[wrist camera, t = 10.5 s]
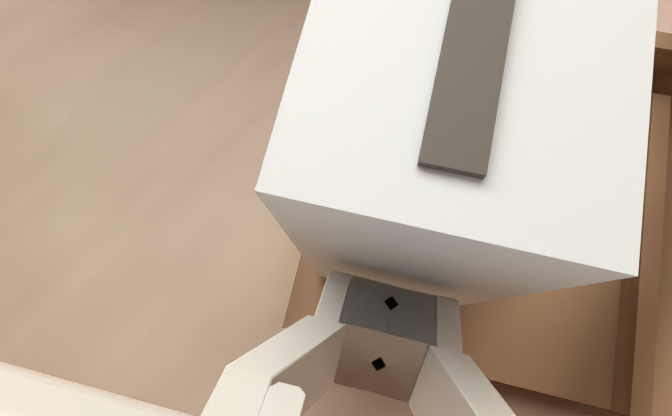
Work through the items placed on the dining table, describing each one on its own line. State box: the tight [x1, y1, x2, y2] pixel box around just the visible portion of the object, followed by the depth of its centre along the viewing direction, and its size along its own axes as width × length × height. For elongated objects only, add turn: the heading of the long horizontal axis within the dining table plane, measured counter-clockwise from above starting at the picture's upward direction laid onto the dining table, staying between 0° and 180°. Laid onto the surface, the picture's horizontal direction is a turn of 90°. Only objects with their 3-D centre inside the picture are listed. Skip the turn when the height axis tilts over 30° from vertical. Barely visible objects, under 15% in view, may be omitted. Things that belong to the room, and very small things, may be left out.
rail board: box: [282, 31, 672, 416], centre depth 15 cm, size 22×12×4 cm, turn 76°
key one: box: [255, 0, 658, 306], centre depth 10 cm, size 4×5×10 cm
